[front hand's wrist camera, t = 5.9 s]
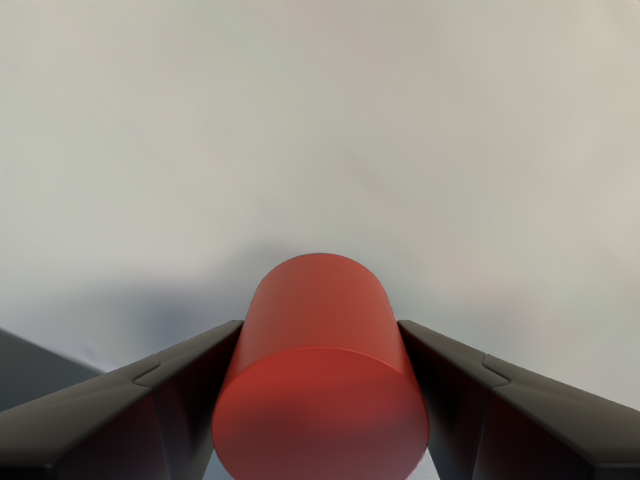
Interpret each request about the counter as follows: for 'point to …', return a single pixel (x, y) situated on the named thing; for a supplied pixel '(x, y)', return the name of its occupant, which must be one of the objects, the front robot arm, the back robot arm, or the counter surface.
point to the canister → (320, 381)
